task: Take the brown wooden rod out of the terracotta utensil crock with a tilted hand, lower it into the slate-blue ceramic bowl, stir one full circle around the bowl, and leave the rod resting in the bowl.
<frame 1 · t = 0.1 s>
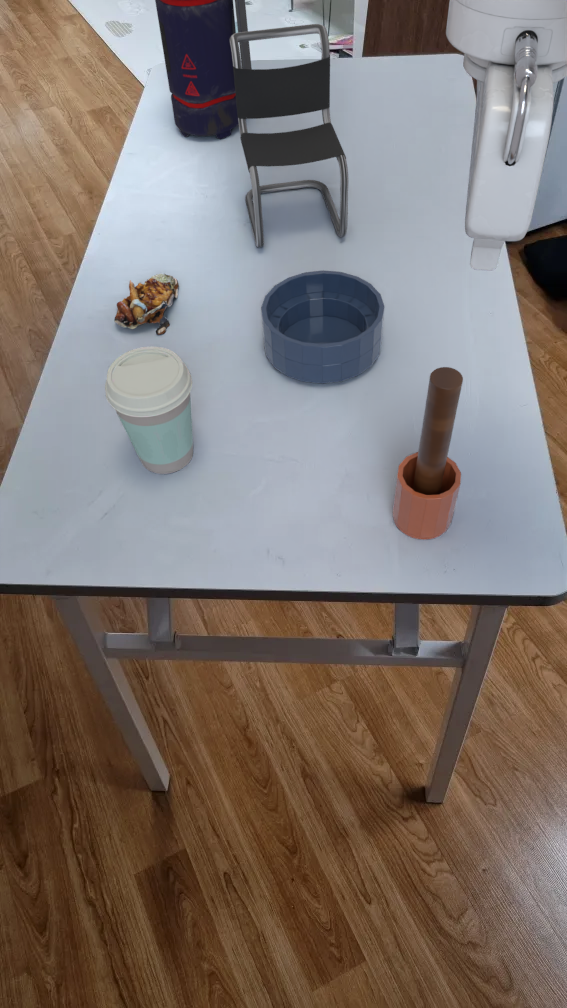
hand: (485, 226, 52), 29 cm above the table, tool pointing down, fingers open, 8 cm apart
chair: (293, 219, 107), on the table
coffee cup: (167, 455, 79), on the table
navy blue cylinder: (215, 127, 126), on the table
brown wooden rod: (422, 513, 72), resting on crock
loaded food tray: (149, 306, 95), on the table
crock: (421, 516, 72), on the table
bowl: (322, 347, 89), on the table
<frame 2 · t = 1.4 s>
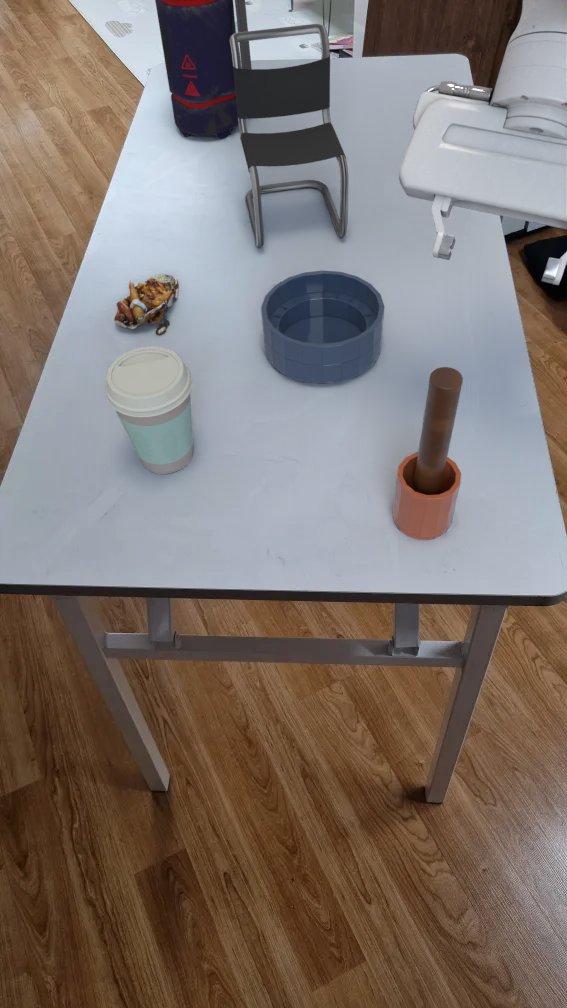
hand: (494, 269, 62), 21 cm above the table, tool tilted 45°, fingers open, 8 cm apart
nothing on the table moved.
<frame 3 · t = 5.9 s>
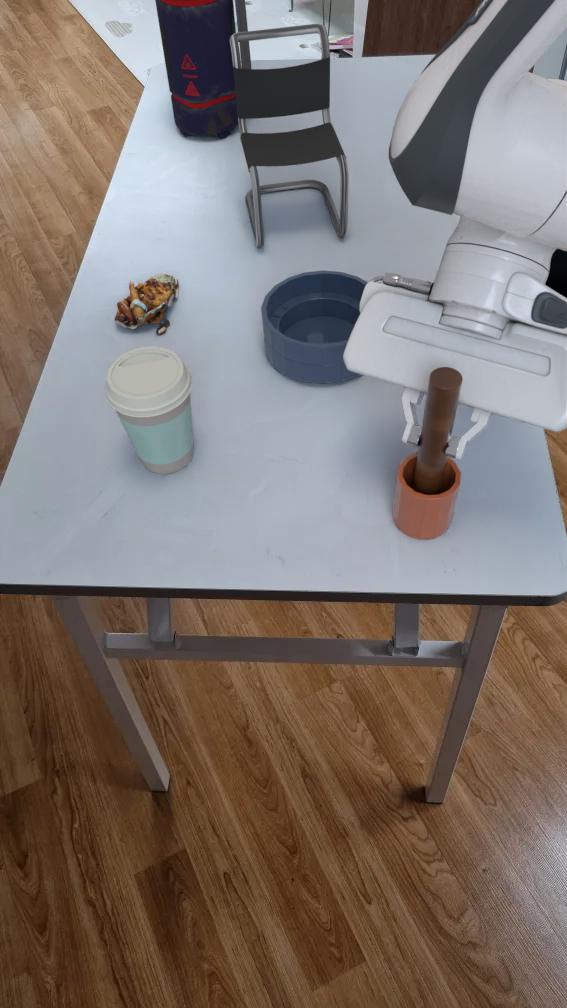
hand: (431, 451, 64), 10 cm above the table, tool tilted 45°, fingers closed on brown wooden rod, 2 cm apart
brown wooden rod: (422, 513, 72), point 1 cm above the table, touching crock, gripper
everything else where it was.
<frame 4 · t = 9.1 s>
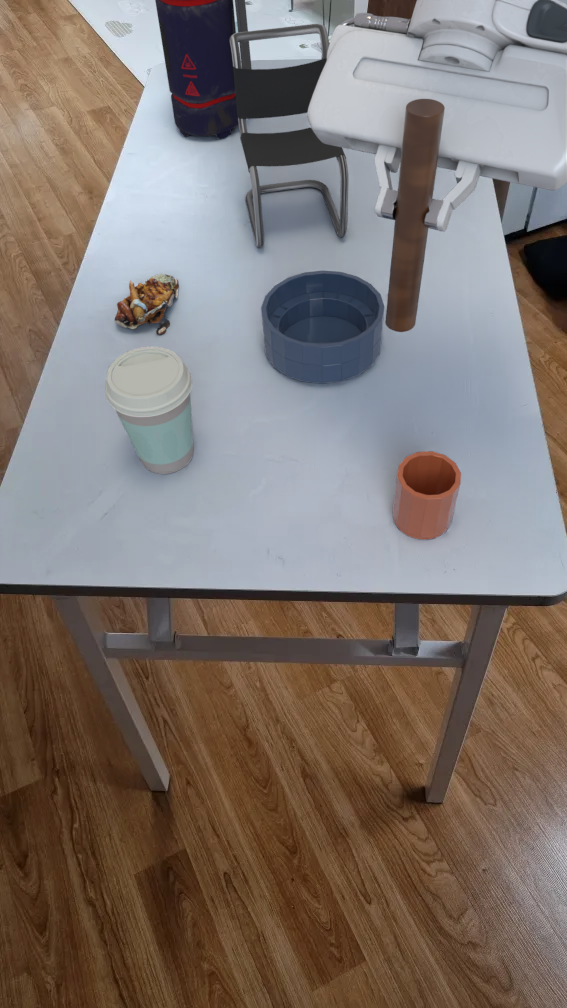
hand: (409, 222, 55), 28 cm above the table, tool tilted 45°, fingers closed on brown wooden rod, 2 cm apart
brown wooden rod: (400, 322, 63), point 18 cm above the table, touching gripper
everything else where it was.
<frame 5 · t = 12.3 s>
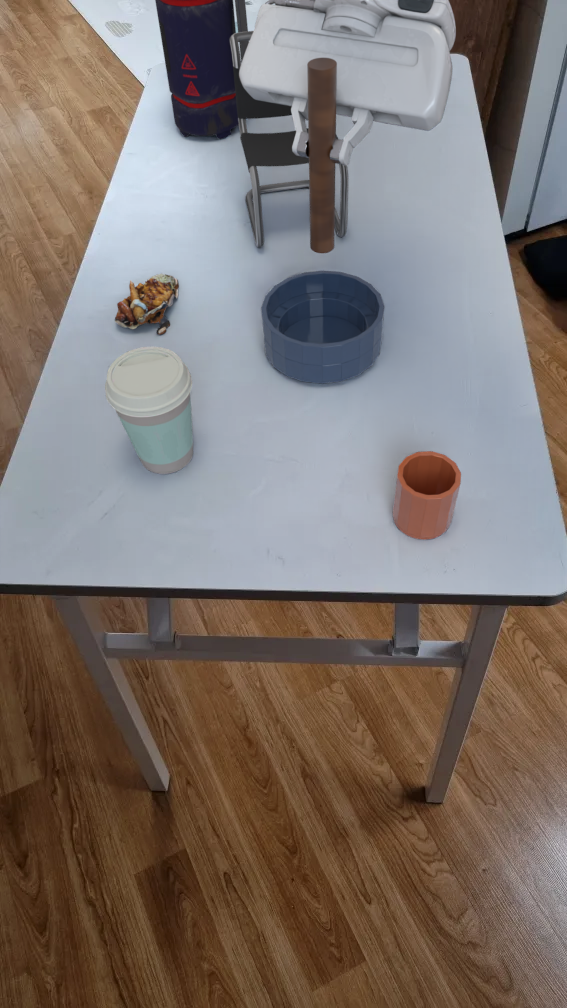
hand: (319, 158, 69), 24 cm above the table, tool tilted 45°, fingers closed on brown wooden rod, 2 cm apart
brown wooden rod: (322, 246, 77), point 14 cm above the table, touching gripper
everything else where it was.
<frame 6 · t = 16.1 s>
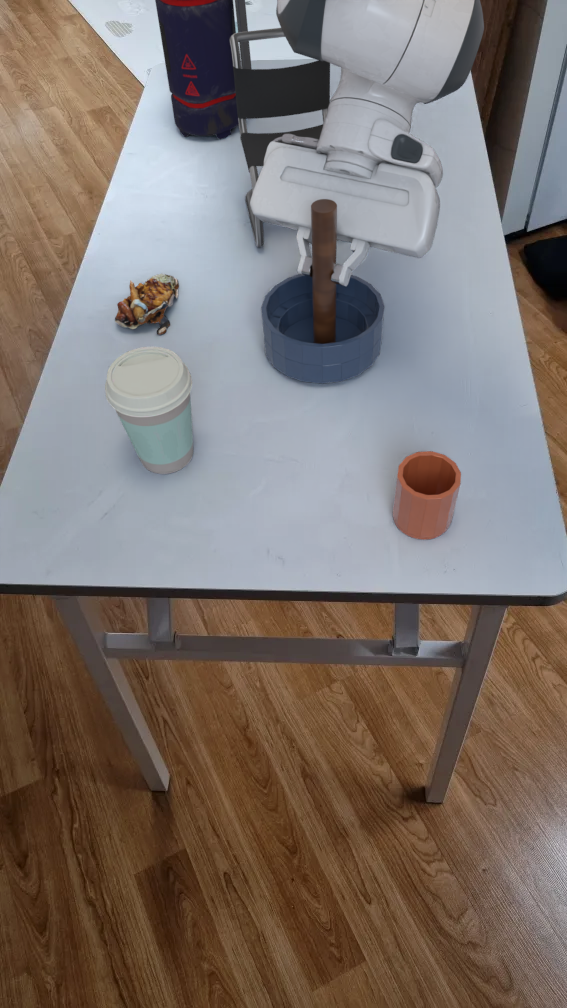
hand: (322, 279, 77), 12 cm above the table, tool tilted 45°, fingers closed on brown wooden rod, 2 cm apart
brown wooden rod: (324, 348, 86), point 2 cm above the table, touching gripper
everything else where it was.
when the fingers open (10 cm above the table, at t = 19.0 s): brown wooden rod stays where it is, resting on bowl.
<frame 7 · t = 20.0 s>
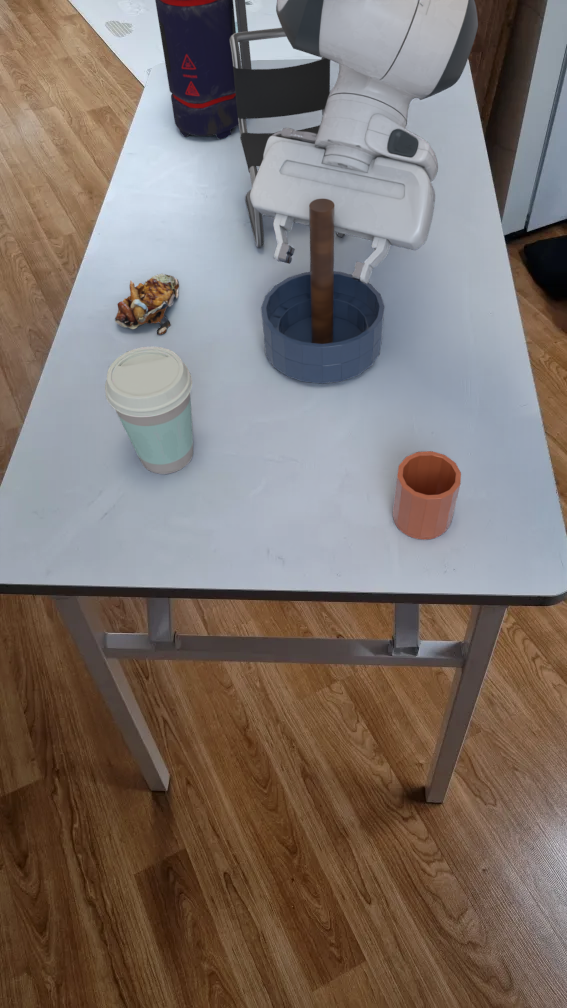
hand: (320, 271, 79), 11 cm above the table, tool tilted 45°, fingers open, 8 cm apart
brown wooden rod: (322, 343, 88), point 1 cm above the table, touching bowl
everything else where it was.
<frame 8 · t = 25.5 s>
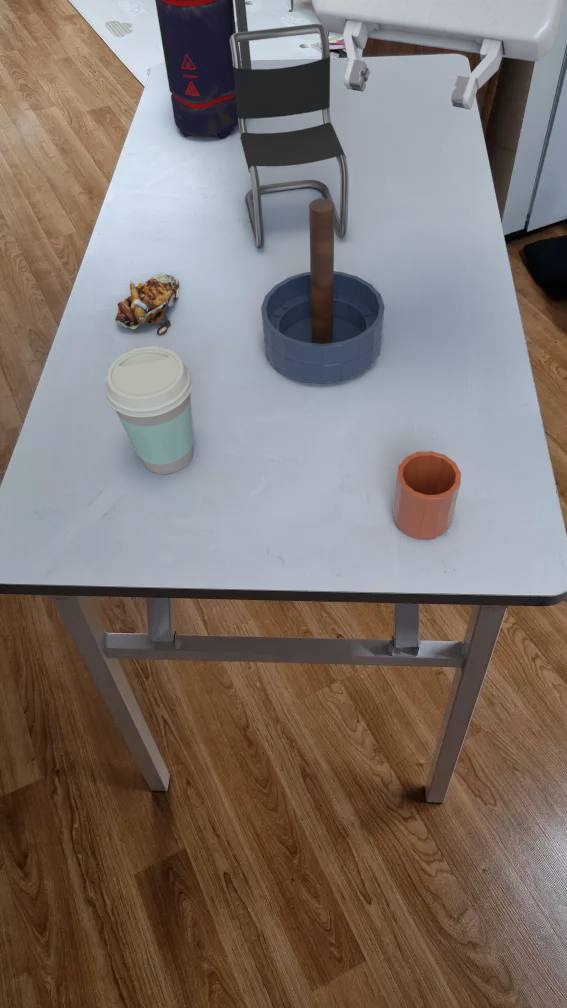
hand: (405, 96, 60), 31 cm above the table, tool tilted 45°, fingers open, 8 cm apart
nothing on the table moved.
at the end: brown wooden rod moved 27.8 cm from its start; brown wooden rod inside the target area in the bowl (0.0 cm from its centre), point 0.6 cm above the bowl's base; the gripper is holding nothing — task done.
